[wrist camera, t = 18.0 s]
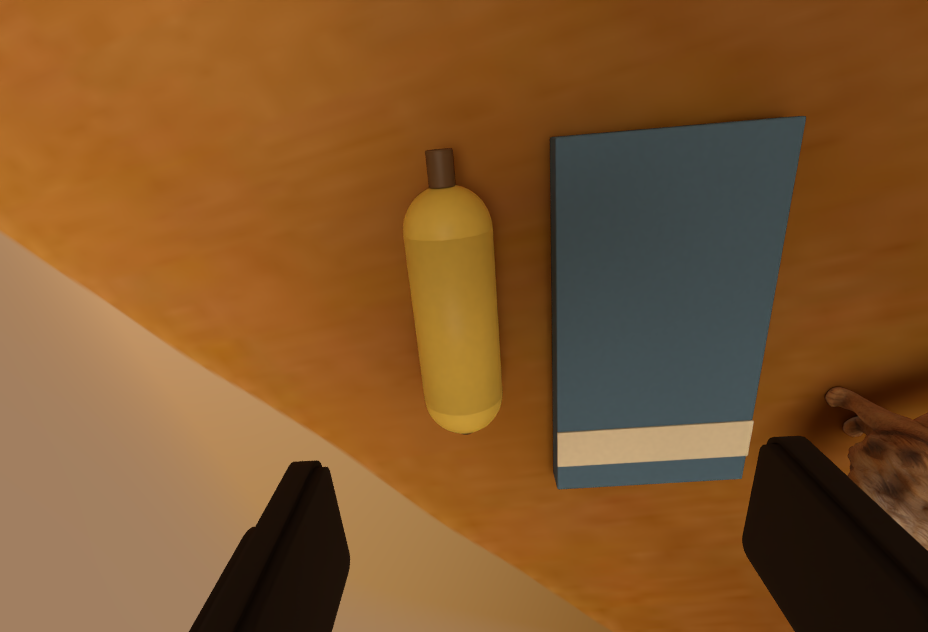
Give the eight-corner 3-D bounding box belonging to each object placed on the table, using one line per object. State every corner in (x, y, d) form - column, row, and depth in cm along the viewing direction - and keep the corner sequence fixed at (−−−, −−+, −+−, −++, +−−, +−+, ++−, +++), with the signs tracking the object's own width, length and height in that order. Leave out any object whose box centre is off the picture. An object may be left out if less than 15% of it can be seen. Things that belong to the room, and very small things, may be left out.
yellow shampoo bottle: (511, 414, 27) (495, 461, 23) (443, 408, 28) (418, 451, 24) (497, 143, 21) (473, 147, 18) (413, 150, 23) (375, 155, 19)
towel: (549, 137, 22) (555, 137, 20) (785, 116, 21) (808, 115, 20) (553, 472, 29) (558, 491, 28) (728, 462, 29) (743, 480, 27)
